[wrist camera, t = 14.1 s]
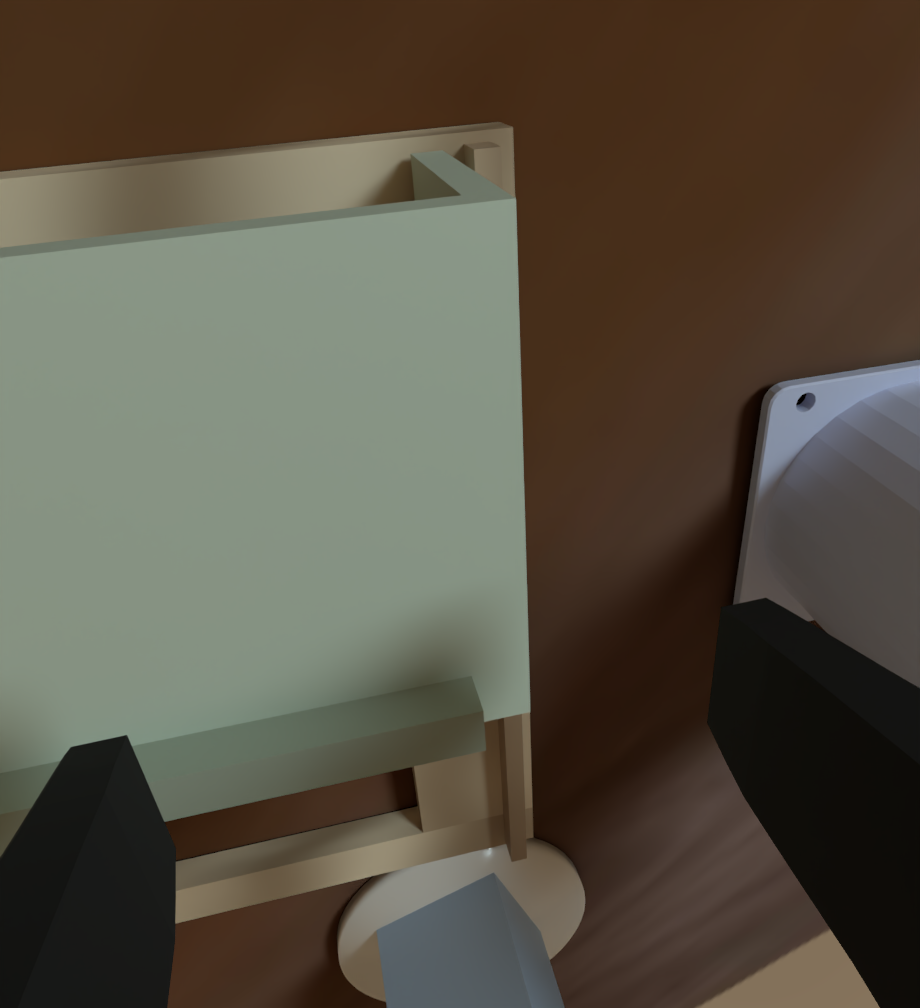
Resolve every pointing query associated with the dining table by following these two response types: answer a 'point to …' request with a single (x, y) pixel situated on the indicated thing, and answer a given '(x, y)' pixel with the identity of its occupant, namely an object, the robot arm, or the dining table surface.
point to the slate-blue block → (467, 954)
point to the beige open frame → (260, 194)
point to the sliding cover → (264, 496)
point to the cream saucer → (390, 896)
